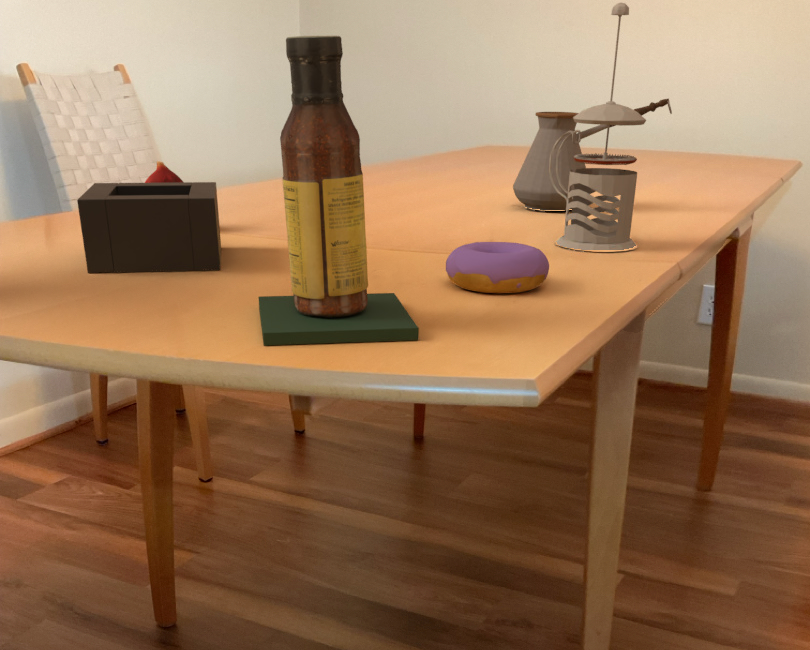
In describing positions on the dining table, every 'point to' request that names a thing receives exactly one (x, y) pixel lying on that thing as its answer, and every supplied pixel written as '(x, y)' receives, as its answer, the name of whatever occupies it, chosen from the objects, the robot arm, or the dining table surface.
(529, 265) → the donut
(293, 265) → the sauce bottle
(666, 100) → the coffee pot
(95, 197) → the black open-top box
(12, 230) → the dining table surface
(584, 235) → the french press
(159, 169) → the onion
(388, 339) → the mat
